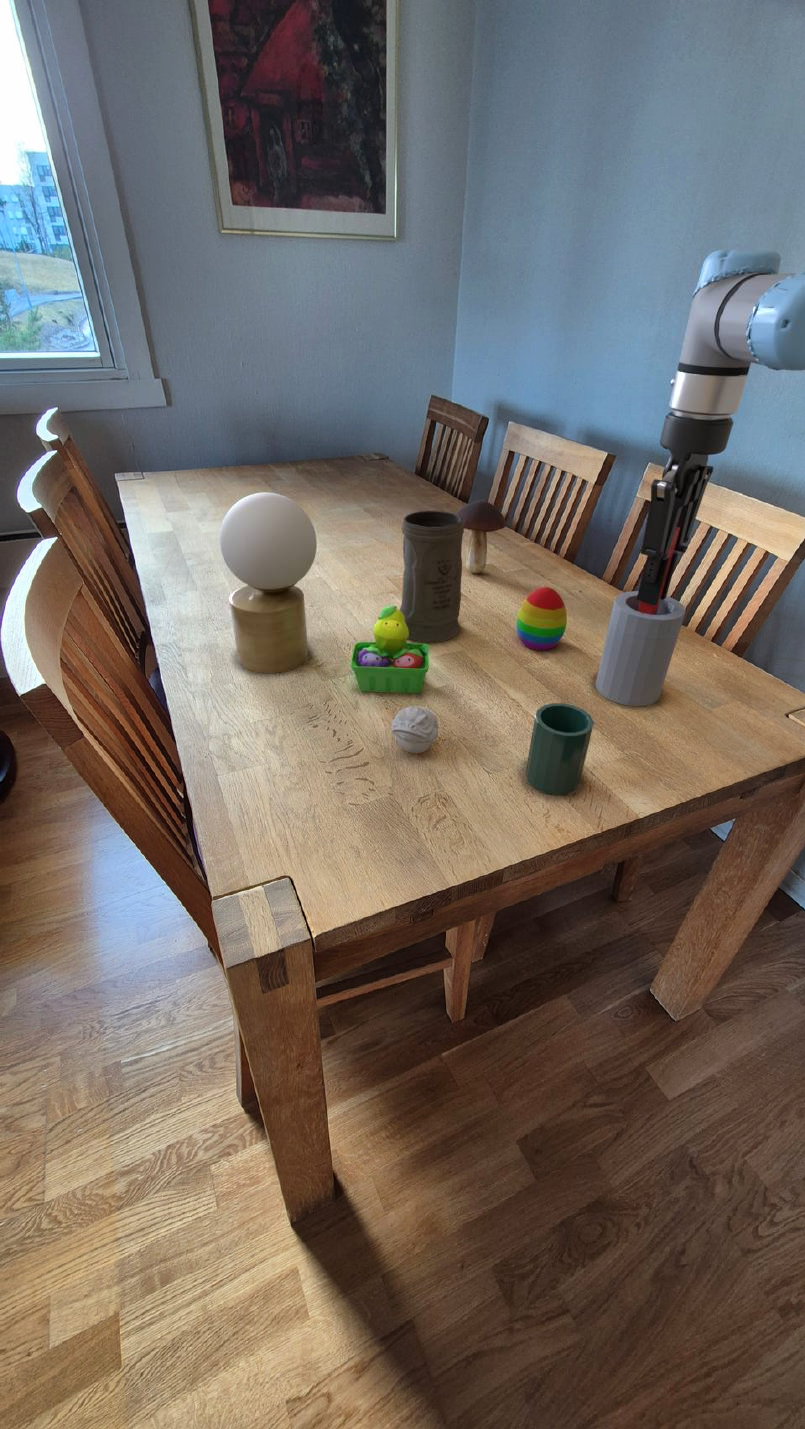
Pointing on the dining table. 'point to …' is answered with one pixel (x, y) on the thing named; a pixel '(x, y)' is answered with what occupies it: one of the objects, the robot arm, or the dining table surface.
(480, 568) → the decorative mushroom
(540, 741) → the pen pot
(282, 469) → the dining table surface
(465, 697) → the dining table surface
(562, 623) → the decorative egg
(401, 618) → the fruit basket
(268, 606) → the lamp
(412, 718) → the grey wrinkled ball
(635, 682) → the vase
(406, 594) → the dark grey hollow cylinder
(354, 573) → the dining table surface
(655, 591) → the robot arm
